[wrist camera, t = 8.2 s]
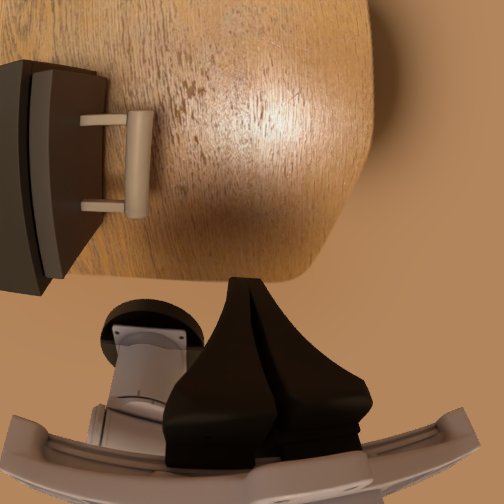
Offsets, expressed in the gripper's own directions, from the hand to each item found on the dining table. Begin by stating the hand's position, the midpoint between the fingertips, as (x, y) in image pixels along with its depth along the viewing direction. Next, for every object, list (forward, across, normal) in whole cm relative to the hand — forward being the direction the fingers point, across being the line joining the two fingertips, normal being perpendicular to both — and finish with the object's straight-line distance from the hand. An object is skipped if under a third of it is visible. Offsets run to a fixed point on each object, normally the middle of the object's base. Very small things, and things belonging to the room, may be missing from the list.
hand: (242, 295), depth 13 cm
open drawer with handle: (+9, +14, -3) cm, 17 cm away
